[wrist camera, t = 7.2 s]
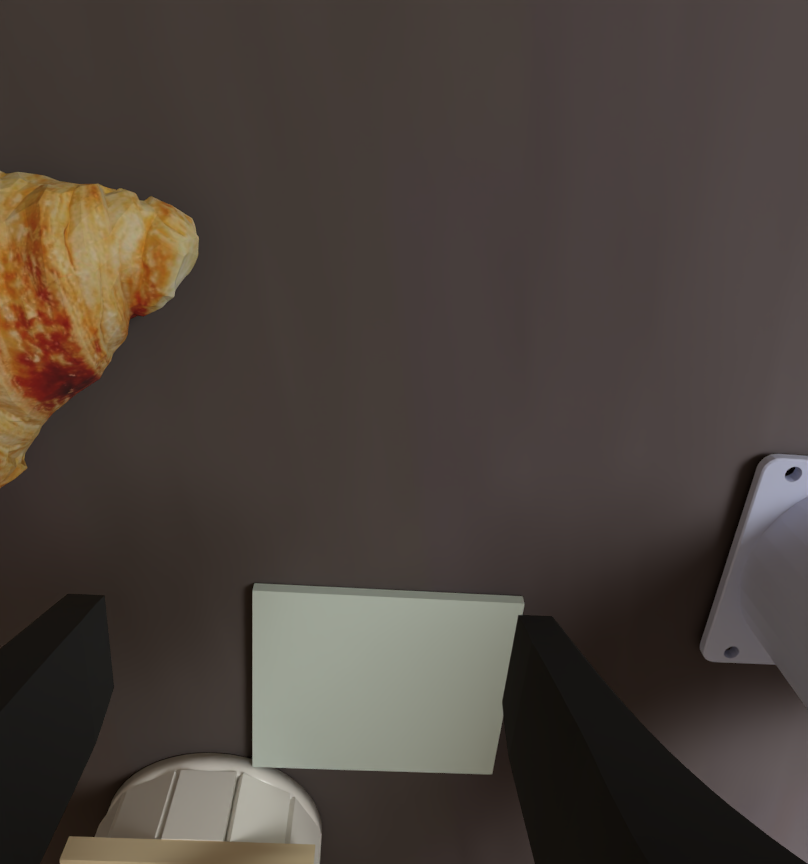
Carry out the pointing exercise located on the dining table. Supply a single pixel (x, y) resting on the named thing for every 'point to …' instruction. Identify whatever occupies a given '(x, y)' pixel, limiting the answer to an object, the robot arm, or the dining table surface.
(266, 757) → the plate
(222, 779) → the bowl
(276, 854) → the lid
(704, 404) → the dining table surface
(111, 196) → the croissant
